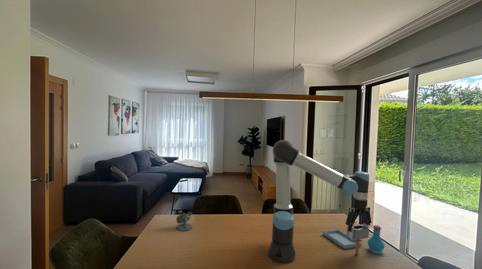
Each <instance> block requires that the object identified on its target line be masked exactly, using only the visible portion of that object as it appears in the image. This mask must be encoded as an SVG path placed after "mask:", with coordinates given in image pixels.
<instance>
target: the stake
mask: <svg viewBox="0 0 482 269" xmlns="http://www.w3.org/2000/svg"><path fill="white" fill-rule="evenodd" d="M362 240H363V239H358V240H355V242H356V247H355V249H354V253H355V254H354V255H355V256H359V253H360V247H359V242H361V243H362Z"/></svg>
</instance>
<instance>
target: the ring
mask: <svg viewBox="0 0 482 269" xmlns="http://www.w3.org/2000/svg"><path fill="white" fill-rule="evenodd" d="M353 227H354V230H353V239H354V240H358V239H361V240H365V239H370V237H369V235H370V234H369V233H370V228H369V227H368V228H367V227H365V226H363V224H359V223H358V224H353ZM346 230H347V231H346V234H347V235H348V234H349V231H348V226H347V228H346Z"/></svg>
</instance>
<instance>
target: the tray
mask: <svg viewBox="0 0 482 269" xmlns="http://www.w3.org/2000/svg"><path fill="white" fill-rule="evenodd" d="M322 236H324V237H325V238H327V239H329V240H330V241H332V242H333V243H334V244H336V245H338V246H339V247H341V248H342V249H344V250H347V249H354V248H356V242H355V240H354V239H353V238H351V237H349V236H348V235H347V232H346V233H345V232H343V231H342V230H340V229H338V228H337V229H329V230H328V229H327V230H323V231H322ZM361 246H362V242H359V248H360V247H361Z"/></svg>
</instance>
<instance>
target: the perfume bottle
mask: <svg viewBox="0 0 482 269" xmlns="http://www.w3.org/2000/svg"><path fill="white" fill-rule="evenodd" d="M372 228H373V231H372V232H373V234H372V236H371V237H369V238H368V239H367V245H368V247H369V251H370V252H372V253H374V254H382V253H383V250H384V248H385V243H384V241H383V239H382V238H381V237H380V236H381V230H382V227H380V225H378V224H377V225H376V224H375V225H372Z"/></svg>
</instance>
